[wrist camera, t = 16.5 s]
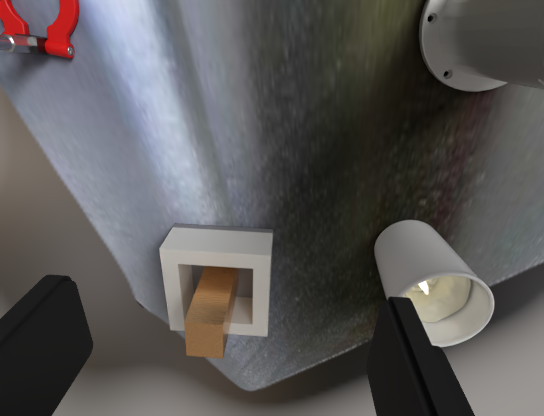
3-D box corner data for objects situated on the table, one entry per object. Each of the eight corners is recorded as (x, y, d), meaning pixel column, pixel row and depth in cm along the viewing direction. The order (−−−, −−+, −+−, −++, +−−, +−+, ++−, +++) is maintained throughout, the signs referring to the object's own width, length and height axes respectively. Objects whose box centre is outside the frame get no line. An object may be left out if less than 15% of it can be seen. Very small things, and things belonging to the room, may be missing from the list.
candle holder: (370, 214, 42) (397, 274, 32) (451, 212, 42) (506, 273, 31) (365, 276, 47) (387, 347, 36) (437, 276, 46) (482, 348, 35)
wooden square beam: (239, 256, 45) (223, 325, 34) (238, 286, 47) (223, 358, 37) (209, 254, 45) (184, 321, 34) (210, 283, 47) (186, 355, 37)
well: (273, 229, 44) (270, 255, 39) (269, 304, 50) (267, 336, 44) (175, 223, 44) (159, 248, 39) (183, 298, 50) (170, 330, 45)
